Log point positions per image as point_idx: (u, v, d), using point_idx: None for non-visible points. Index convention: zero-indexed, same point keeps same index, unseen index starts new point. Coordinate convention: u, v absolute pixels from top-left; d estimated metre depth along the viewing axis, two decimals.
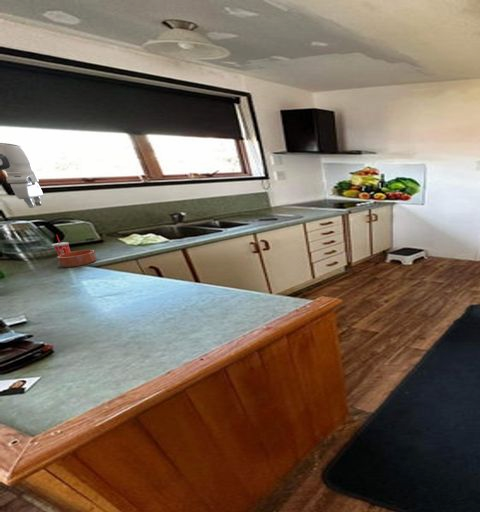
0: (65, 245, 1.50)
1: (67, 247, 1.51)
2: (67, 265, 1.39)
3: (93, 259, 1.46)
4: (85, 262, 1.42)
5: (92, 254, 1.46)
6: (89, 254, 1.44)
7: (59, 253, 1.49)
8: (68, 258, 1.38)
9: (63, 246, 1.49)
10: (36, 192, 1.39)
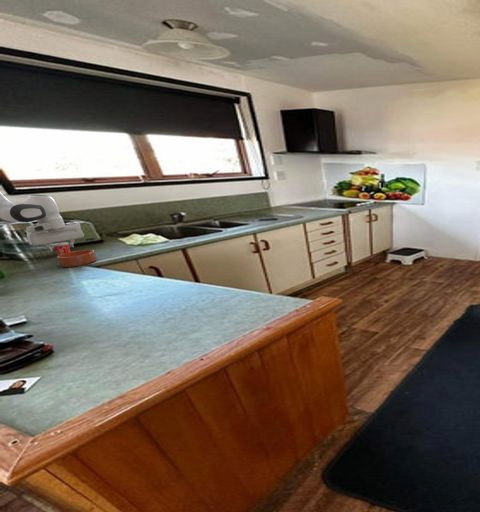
0: (65, 245, 1.50)
1: (67, 247, 1.51)
2: (67, 265, 1.39)
3: (93, 259, 1.46)
4: (85, 262, 1.42)
5: (92, 254, 1.46)
6: (89, 254, 1.44)
7: (59, 253, 1.49)
8: (68, 258, 1.38)
9: (63, 246, 1.49)
10: (63, 237, 1.49)
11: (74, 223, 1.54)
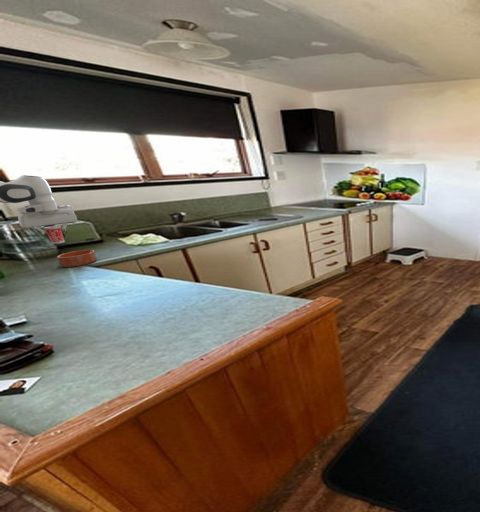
0: (57, 228, 1.47)
1: (59, 231, 1.48)
2: (67, 265, 1.39)
3: (93, 259, 1.46)
4: (85, 262, 1.42)
5: (92, 254, 1.46)
6: (89, 254, 1.44)
7: (51, 236, 1.46)
8: (68, 258, 1.38)
9: (55, 229, 1.46)
10: (55, 220, 1.46)
11: (67, 206, 1.51)
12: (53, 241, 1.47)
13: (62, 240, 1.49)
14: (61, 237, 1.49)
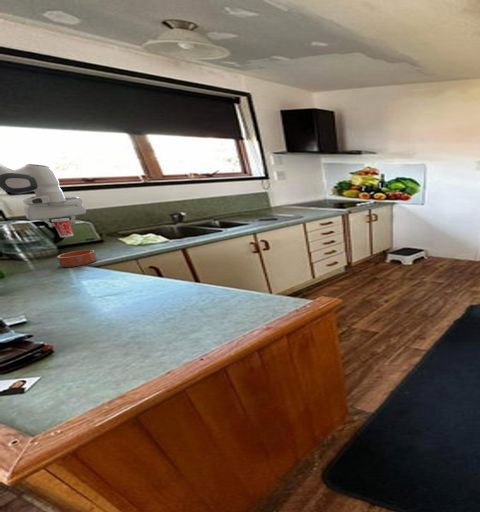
0: (65, 221, 1.39)
1: (68, 223, 1.40)
2: (67, 265, 1.39)
3: (93, 259, 1.46)
4: (85, 262, 1.42)
5: (92, 254, 1.46)
6: (89, 254, 1.44)
7: (59, 229, 1.38)
8: (68, 258, 1.38)
9: (63, 222, 1.38)
10: (63, 212, 1.38)
11: (75, 198, 1.42)
12: (61, 234, 1.39)
13: (71, 233, 1.41)
14: (69, 230, 1.41)
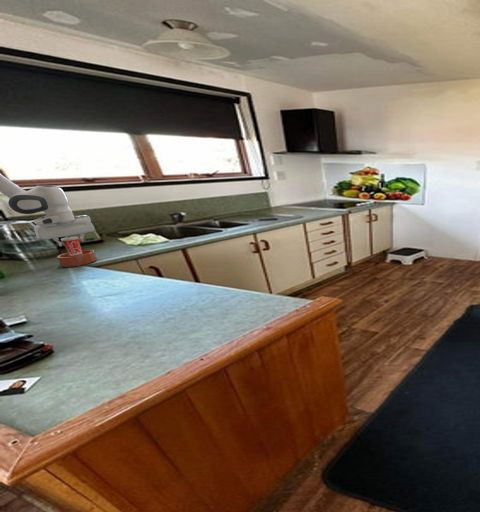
0: (75, 239, 1.41)
1: (77, 242, 1.42)
2: (67, 265, 1.39)
3: (93, 259, 1.46)
4: (85, 262, 1.42)
5: (92, 254, 1.46)
6: (89, 254, 1.44)
7: (68, 248, 1.40)
8: (68, 258, 1.38)
9: (73, 240, 1.40)
10: (72, 230, 1.40)
11: (84, 216, 1.44)
12: (70, 253, 1.41)
13: (80, 251, 1.43)
14: (78, 248, 1.43)
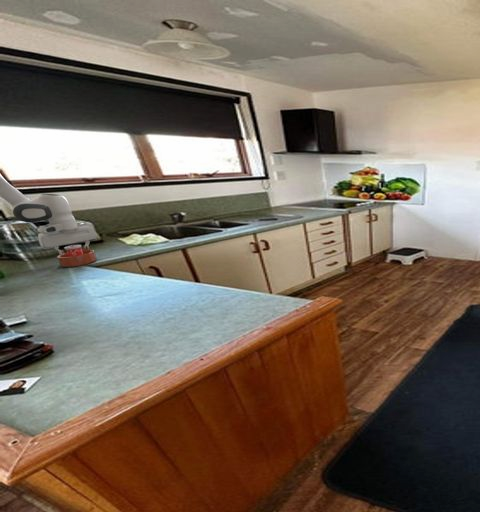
0: (78, 248, 1.42)
1: (80, 250, 1.43)
2: (67, 265, 1.39)
3: (93, 259, 1.46)
4: (85, 262, 1.42)
5: (92, 254, 1.46)
6: (89, 254, 1.44)
7: None
8: (68, 258, 1.38)
9: (76, 249, 1.41)
10: (75, 238, 1.41)
11: (87, 224, 1.46)
12: None
13: None
14: None
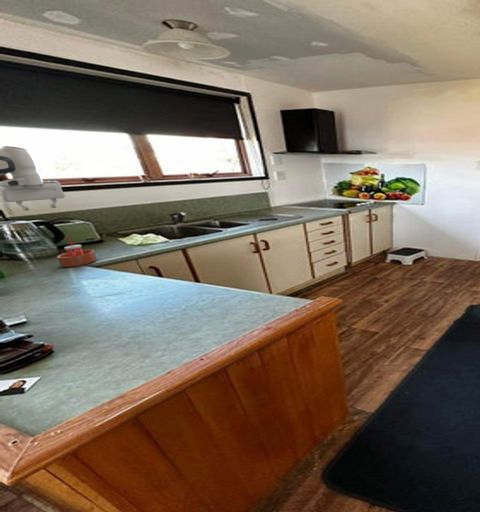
0: (78, 248, 1.42)
1: (80, 250, 1.43)
2: (67, 265, 1.39)
3: (93, 259, 1.46)
4: (85, 262, 1.42)
5: (92, 254, 1.46)
6: (89, 254, 1.44)
7: None
8: (68, 258, 1.38)
9: (76, 249, 1.41)
10: (40, 195, 1.38)
11: (54, 182, 1.43)
12: None
13: None
14: None
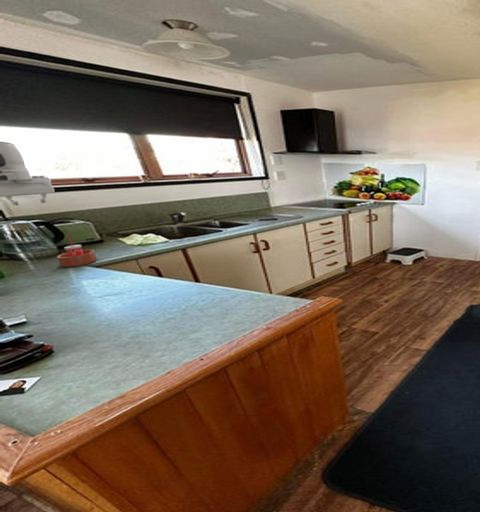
0: (78, 248, 1.42)
1: (80, 250, 1.43)
2: (67, 265, 1.39)
3: (93, 259, 1.46)
4: (85, 262, 1.42)
5: (92, 254, 1.46)
6: (89, 254, 1.44)
7: None
8: (68, 258, 1.38)
9: (76, 249, 1.41)
10: (30, 190, 1.40)
11: (43, 177, 1.44)
12: None
13: None
14: None
